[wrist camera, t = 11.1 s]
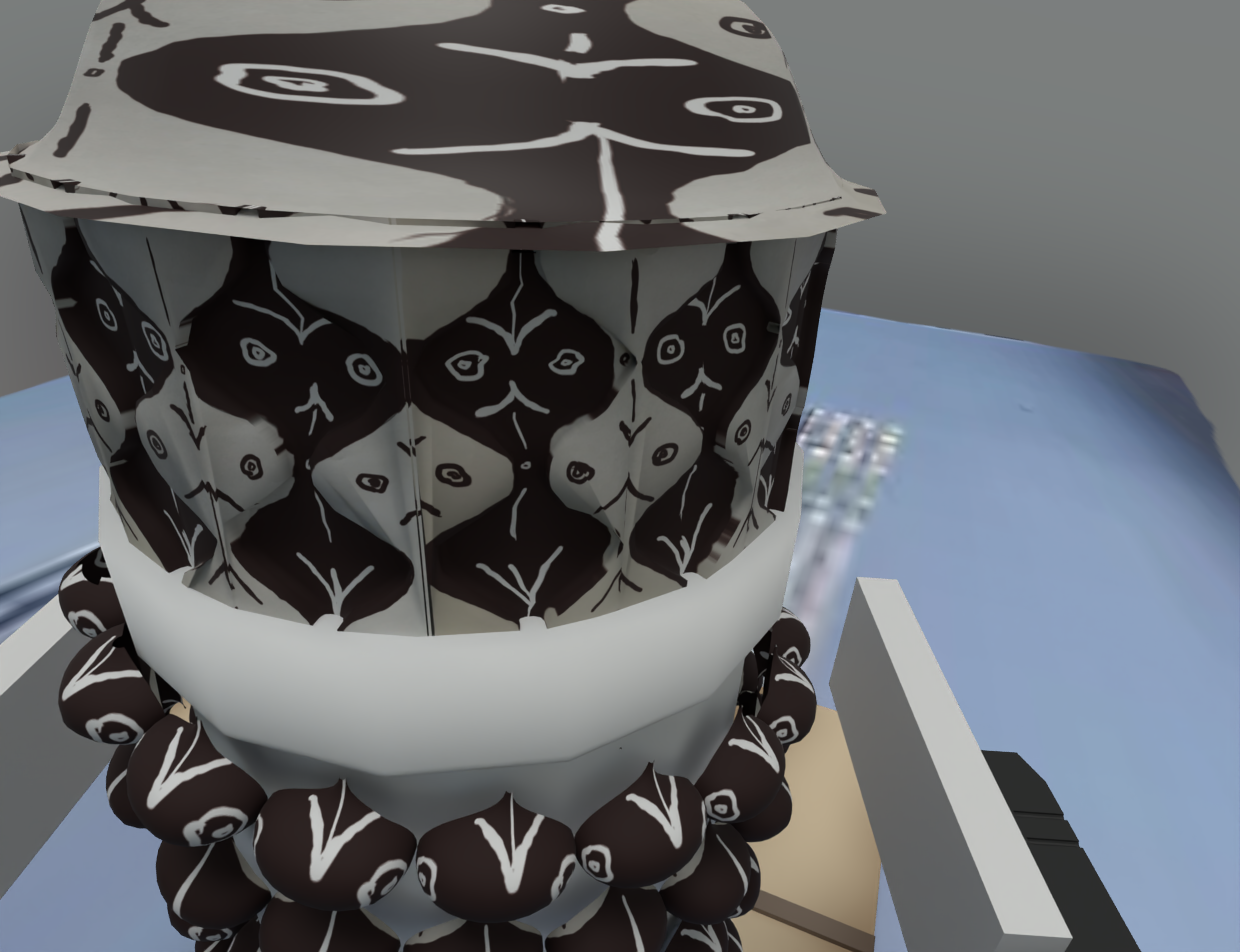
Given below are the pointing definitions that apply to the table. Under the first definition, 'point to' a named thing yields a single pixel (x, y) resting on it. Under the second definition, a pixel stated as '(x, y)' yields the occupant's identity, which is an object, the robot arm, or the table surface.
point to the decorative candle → (440, 459)
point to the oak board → (809, 854)
